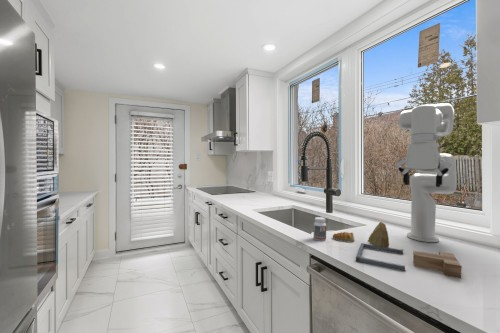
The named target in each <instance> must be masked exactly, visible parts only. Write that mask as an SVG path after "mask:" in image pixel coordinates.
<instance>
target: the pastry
mask: <svg viewBox="0 0 500 333" xmlns="http://www.w3.org/2000/svg"><path fill="white" fill-rule="evenodd" d="M332 238H333V240H336V241H338V242H339V241H341V242H346V243H354V242H355V237H354V233H353V232H348V231H347V232H346V231H343V232H341V231H340V232H337V233H334V234H333V235H332Z"/></svg>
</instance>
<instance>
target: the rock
mask: <svg viewBox="0 0 500 333" xmlns="http://www.w3.org/2000/svg"><path fill="white" fill-rule="evenodd" d="M388 232H389V231H388V229H387V227H386V224H385V223H383V222H382V221H380V222H379V223H378V224H377V225H376V226H375V228H374V229H373V231H372V232H371V234H370V235H369V237H368V240H367V242H368V243H369V244H371V245H377V246H383V247H389V246H390V241H389V240H390V238H389V233H388ZM389 248H390V247H389Z"/></svg>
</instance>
